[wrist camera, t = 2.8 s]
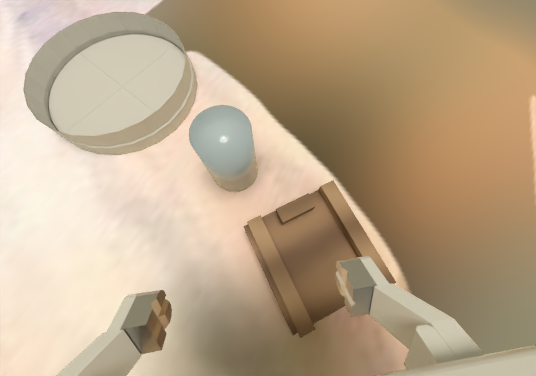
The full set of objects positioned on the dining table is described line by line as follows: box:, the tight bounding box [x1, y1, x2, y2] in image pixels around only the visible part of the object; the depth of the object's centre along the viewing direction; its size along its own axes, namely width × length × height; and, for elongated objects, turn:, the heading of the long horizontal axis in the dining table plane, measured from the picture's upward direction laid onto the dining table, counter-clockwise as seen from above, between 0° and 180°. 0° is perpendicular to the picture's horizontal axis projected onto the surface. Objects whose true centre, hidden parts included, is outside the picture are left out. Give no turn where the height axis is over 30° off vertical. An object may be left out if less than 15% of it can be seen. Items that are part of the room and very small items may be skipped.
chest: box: [244, 181, 396, 338], centre depth 25 cm, size 12×12×5 cm
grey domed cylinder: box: [189, 105, 257, 192], centre depth 26 cm, size 6×6×10 cm
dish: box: [24, 12, 197, 155], centre depth 33 cm, size 22×22×5 cm
